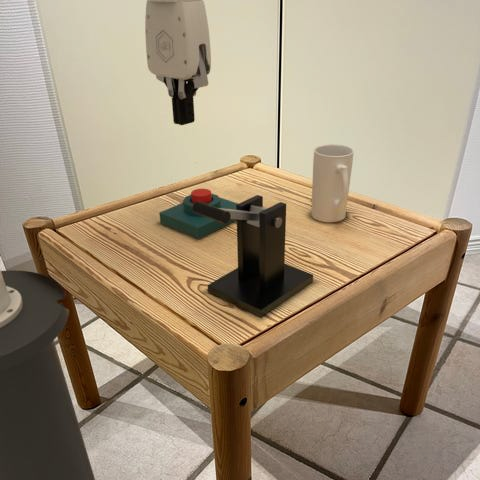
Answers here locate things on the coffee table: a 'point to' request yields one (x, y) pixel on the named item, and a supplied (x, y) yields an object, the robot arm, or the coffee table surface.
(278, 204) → the bracket
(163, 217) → the button box
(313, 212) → the mug
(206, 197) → the button
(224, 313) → the coffee table surface
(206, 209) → the lever
